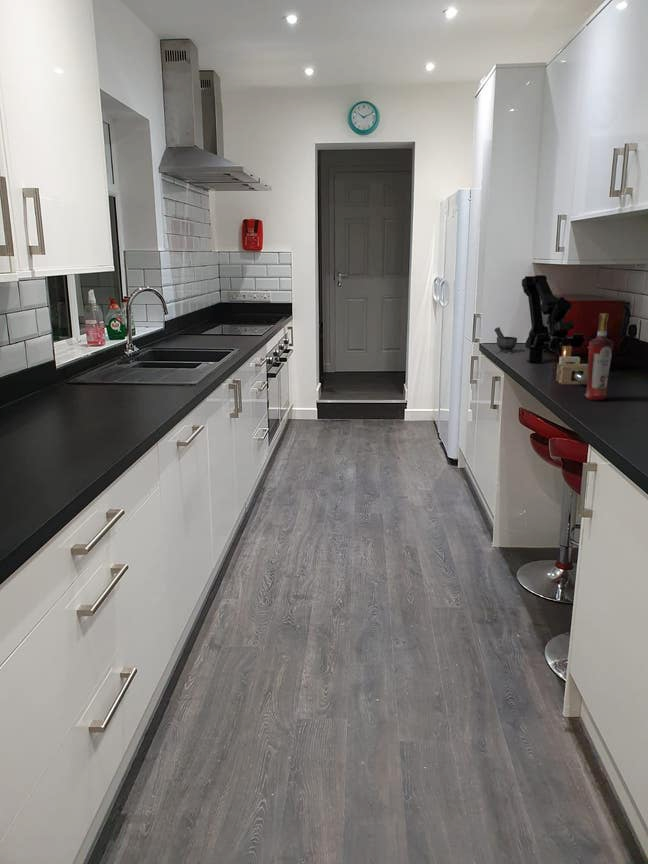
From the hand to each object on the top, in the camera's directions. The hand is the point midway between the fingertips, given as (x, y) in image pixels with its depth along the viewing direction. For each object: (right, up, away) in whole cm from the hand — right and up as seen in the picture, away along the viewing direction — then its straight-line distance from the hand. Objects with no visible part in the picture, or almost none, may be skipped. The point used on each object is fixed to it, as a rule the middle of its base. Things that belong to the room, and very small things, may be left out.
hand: (561, 357), depth 263 cm
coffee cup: (+19, -4, +11) cm, 22 cm away
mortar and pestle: (-6, +9, +61) cm, 62 cm away
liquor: (-4, -19, -42) cm, 46 cm away
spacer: (0, -9, -7) cm, 11 cm away
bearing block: (-1, -11, -14) cm, 18 cm away
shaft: (-1, -10, -12) cm, 16 cm away
